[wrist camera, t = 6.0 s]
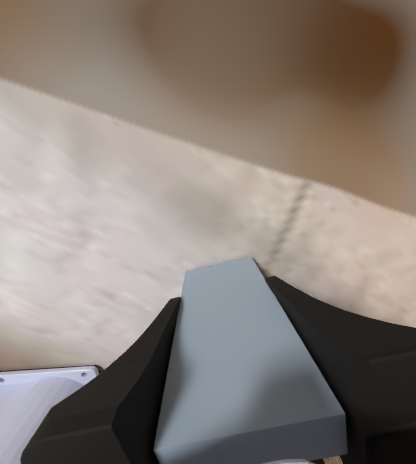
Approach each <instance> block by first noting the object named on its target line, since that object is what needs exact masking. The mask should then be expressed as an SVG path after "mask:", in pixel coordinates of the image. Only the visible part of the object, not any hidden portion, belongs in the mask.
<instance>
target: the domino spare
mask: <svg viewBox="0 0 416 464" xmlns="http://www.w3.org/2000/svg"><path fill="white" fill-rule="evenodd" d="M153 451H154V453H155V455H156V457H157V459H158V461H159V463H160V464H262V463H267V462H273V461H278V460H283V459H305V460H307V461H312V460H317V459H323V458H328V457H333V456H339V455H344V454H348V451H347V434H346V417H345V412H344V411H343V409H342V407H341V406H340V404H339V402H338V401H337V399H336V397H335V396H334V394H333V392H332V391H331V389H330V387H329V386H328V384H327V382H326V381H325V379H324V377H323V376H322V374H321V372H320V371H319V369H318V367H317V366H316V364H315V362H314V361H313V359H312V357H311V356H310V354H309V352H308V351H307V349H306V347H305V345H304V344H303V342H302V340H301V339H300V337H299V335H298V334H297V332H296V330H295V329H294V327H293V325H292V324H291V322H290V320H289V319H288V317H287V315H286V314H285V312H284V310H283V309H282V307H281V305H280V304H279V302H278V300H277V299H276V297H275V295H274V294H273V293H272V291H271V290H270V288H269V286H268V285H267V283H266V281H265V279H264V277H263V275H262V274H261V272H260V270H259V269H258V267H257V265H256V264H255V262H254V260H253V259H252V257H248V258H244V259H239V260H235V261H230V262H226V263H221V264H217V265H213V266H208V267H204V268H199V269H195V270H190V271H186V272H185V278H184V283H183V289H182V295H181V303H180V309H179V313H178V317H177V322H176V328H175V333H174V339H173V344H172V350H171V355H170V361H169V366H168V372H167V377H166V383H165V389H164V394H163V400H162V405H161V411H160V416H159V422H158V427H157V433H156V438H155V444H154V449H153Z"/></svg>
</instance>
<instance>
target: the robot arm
mask: <svg viewBox="0 0 416 464" xmlns="http://www.w3.org/2000/svg"><path fill="white" fill-rule="evenodd" d="M265 281H266V283H267V285H268V286H269V288H270V290H271V291H272V293H273V294H274V295H275V297H276V299H277V300H278V302H279V304H280V305H281V307H282V309H283V310H284V312H285V314H286V315H287V317H288V319H289V320H290V322H291V324H292V325H293V327H294V329H295V330H296V332H297V334H298V335H299V337H300V339H301V340H302V342H303V344H304V345H305V347H306V349H307V351H308V352H309V354H310V356H311V357H312V359H313V361H314V362H315V364H316V366H317V367H318V369H319V371H320V372H321V374H322V376H323V377H324V379H325V381H326V382H327V384H328V386H329V387H330V389H331V391H332V392H333V394H334V396H335V397H336V399H337V401H338V402H339V404H340V406H341V407H342V409H343V411H344V412H345V417H346V434H347V451H348V454H344V455H340V457H341V460H342V462H343V464H416V328H413V327H408V326H402V325H397V324H392V323H388V322H384V321H380V320H376V319H372V318H368V317H364V316H361V315H358V314H355V313H351V312H348V311H345V310H342V309H339V308H337V307H334V306H332V305H329V304H327V303H324V302H322V301H320V300H317V299H315V298H313V297H311V296H309V295H307V294H305V293H303V292H301V291H300V290H298V289H296V288H294V287H293V286H291V285H289V284H288V283H286V282H284V281H283V280H281V279H279V278H278V277H276V276H272V277H267V278H265ZM180 303H181V297H177V298H173V299H170V300H169V301H168V303H167V304H166V305H165V307H164V308H163V309H162V311H161V312H160V313H159V315H158V316H157V317H156V318H155V320H154V321H153V322H152V324H151V325H150V326H149V327H148V328H147V329H146V331H145V332H144V333H143V334H142V335H141V336H140V337H139V339H138V340H137V341H136V342H135V343H134V344H133V345H132V346H131V347H130V348H129V349H128V350H127V351H126V352H125V353H124V354H122V355H121V356H120V357H119V358H118V359H117V360H116V361H114V362H113V363H112V364H111V365H110V366H109V367H108V368H106V369H105V370H104V371H103V372H101V373H100V374H99V371H98V369H97V368H96V367H95V366H84V367H69V368H54V369H39V370H24V371H9V372H0V464H160V463H159V461H158V459H157V457H156V455H155V453H154V451H153V449H154V444H155V438H156V433H157V427H158V422H159V416H160V411H161V405H162V400H163V394H164V389H165V383H166V377H167V372H168V366H169V361H170V355H171V350H172V344H173V339H174V333H175V328H176V322H177V317H178V313H179V309H180ZM262 464H315V463H312V462H310V461H307V460H305V459H283V460H278V461H273V462H267V463H262Z"/></svg>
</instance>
